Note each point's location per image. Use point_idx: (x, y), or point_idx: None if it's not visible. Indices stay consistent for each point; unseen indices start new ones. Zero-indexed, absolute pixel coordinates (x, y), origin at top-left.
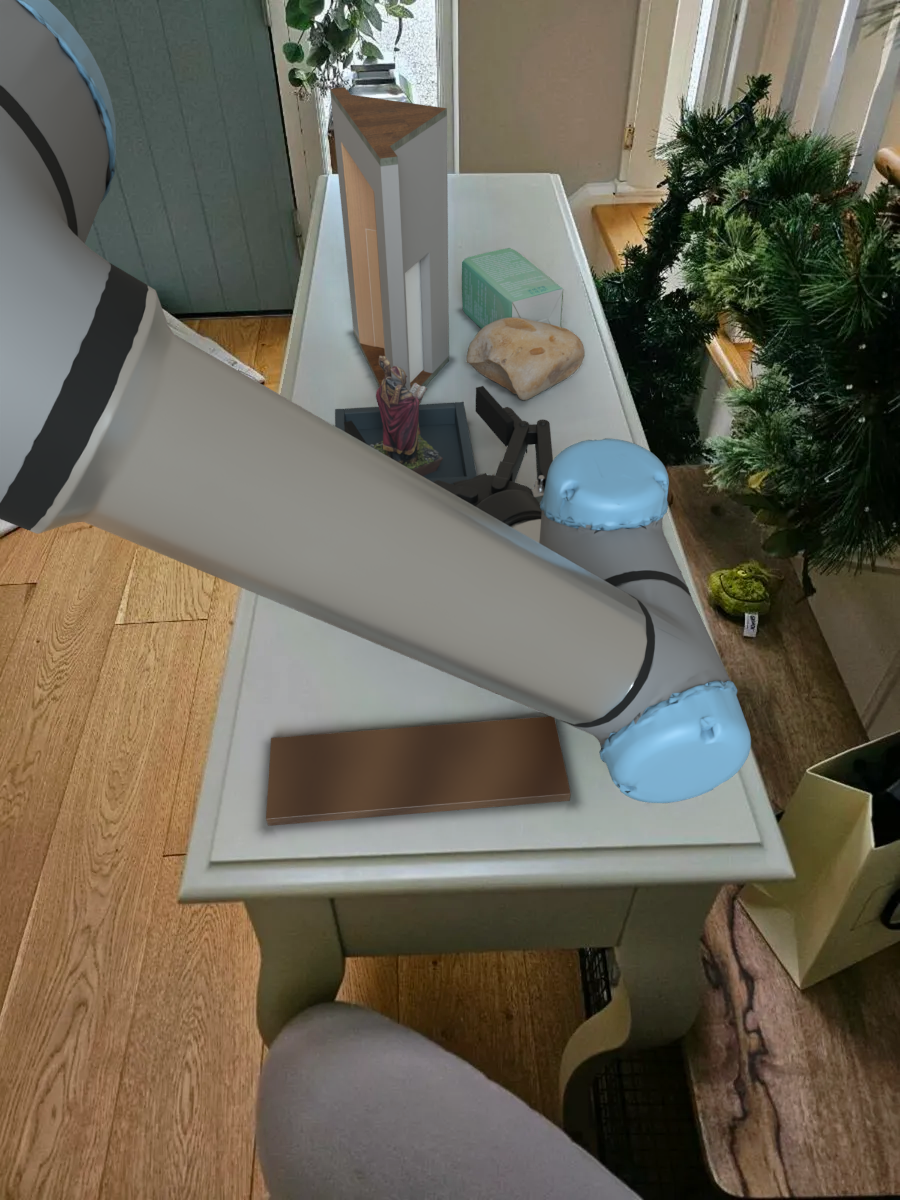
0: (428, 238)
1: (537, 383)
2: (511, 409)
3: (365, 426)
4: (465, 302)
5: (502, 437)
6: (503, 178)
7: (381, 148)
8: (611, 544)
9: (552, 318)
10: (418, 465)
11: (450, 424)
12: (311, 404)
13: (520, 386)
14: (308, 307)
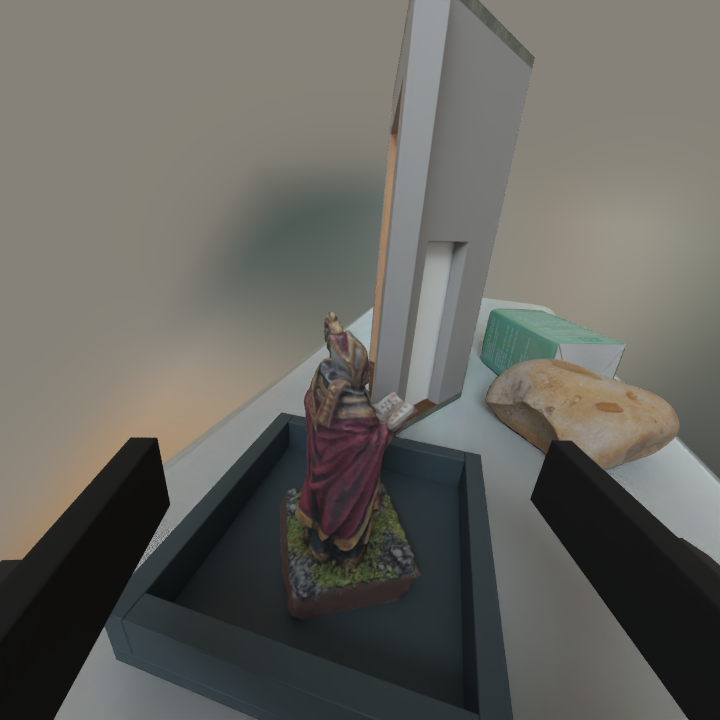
0: (471, 221)
1: (609, 457)
2: (710, 558)
3: None
4: (485, 350)
5: (691, 690)
6: (514, 303)
7: None
8: None
9: None
10: (358, 580)
11: (449, 485)
12: (280, 402)
13: None
14: (343, 331)
